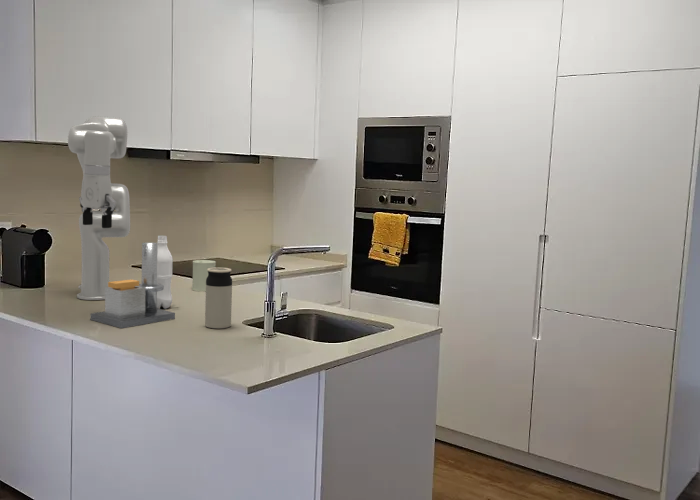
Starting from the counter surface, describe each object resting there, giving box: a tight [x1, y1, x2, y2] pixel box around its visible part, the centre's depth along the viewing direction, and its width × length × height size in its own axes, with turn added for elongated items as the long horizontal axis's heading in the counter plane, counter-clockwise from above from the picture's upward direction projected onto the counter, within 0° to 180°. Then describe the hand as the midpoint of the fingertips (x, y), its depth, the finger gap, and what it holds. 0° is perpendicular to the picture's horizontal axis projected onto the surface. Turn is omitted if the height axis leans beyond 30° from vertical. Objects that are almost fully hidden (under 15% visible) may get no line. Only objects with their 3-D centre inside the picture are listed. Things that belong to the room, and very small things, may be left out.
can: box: [191, 259, 217, 292], centre depth 276 cm, size 9×9×12 cm
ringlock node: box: [90, 241, 176, 329], centre depth 218 cm, size 16×20×24 cm
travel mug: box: [204, 267, 233, 330], centre depth 213 cm, size 8×8×18 cm
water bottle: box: [156, 235, 173, 310], centre depth 237 cm, size 7×7×25 cm
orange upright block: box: [108, 279, 140, 290], centre depth 215 cm, size 4×8×10 cm, turn 143°
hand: (97, 226), depth 216 cm, fingers open, 9 cm apart
